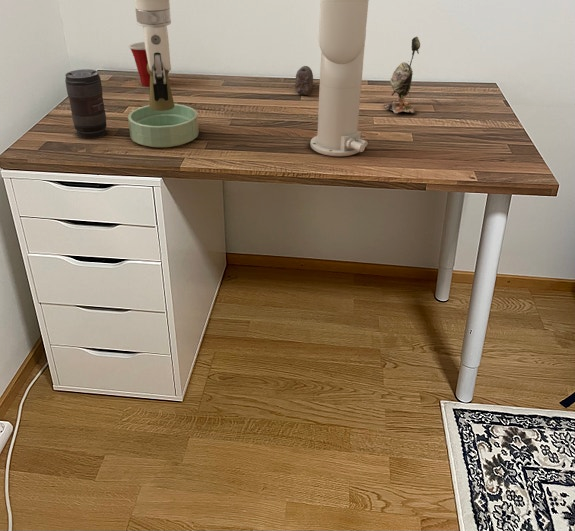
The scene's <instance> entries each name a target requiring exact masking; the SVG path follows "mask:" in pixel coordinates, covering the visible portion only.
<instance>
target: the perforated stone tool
mask: <svg viewBox="0 0 575 531" xmlns="http://www.w3.org/2000/svg"><path fill="white" fill-rule="evenodd" d="M313 74H314V73H313V71H312V69H311V67H310V66H308V65H303V66H301V67H300V68H298V70H297V71H296V74H295V83H294V88H295V91H296V92H297V94H299V95H306V96H307V95H309V94H310V93H311V91H312V89H313V84H314V75H313Z"/></svg>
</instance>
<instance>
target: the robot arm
mask: <svg viewBox="0 0 575 531" xmlns="http://www.w3.org/2000/svg"><path fill="white" fill-rule="evenodd" d="M369 1H370V0H320V3H319V5H320V6H319V25H318V46H319V49H320V70H319V88H318V90H319V91H318V110H317V111H318V112H317V134H316V135H315V136H313V137H312V138H311V140H310V148H311V149H312V150H313V151H314V152H316V153H318V154H321V155H325V156H329V157H349V156H353V155H357V154H358V153H363V152H364V151H365V148H366V147H367V146H368V143H369V142H368V140H366V139H362V138H361V134H362V131H361V130H359V117H360V108H361V106H360V105H361V104H360V103H361V94H362V82H363V72H364V71H363V70H364V60H365V59H364V58H365V47H366V36H367V21H368V12H369ZM134 8H135V9H134V10H135V18H136V24H137V25H138V26H140V27H142V31H143V39H144V40H143V42H145V48H146V54H147V60H148V64H149V69H150V71H152V70H153V78H154V84H153V89H154V99H155V101H158V100H159V99H160V98H163V99H164V100H165V101H167V100H168V90H167V83H166V79H165V69H166V70H168V71H169V72H170V71H172V64H171V53H170V42H169V32H168V26H170V25H171V24H172V17H171V4H170V0H134ZM160 59H161V60H160ZM162 64H163V65H162ZM162 67H163V70H161V68H162ZM164 67H165V68H164ZM154 68H156V70H154ZM155 73H156V74H157V75H155ZM162 73H163V74H162ZM163 82H164V83H163Z"/></svg>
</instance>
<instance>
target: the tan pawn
mask: <svg viewBox="0 0 575 531" xmlns="http://www.w3.org/2000/svg"><path fill="white" fill-rule="evenodd" d="M160 60H161V59H160ZM162 65H163V64H162ZM164 68H165V67H164ZM154 70H156V68H154ZM161 70H163V67H162V68H161ZM147 71H148V73H149V74H150V87H149V100H148V102H149V103H148V105H149V108H150V109H152V110H156V111H165V110H170V109H173V108H174V106H175V105H174V104H175V102H174V97H173V92H172V87H171V84H170V79H169V78H170V77H169V73H170V71H168V70H166V69H165V79H166V83H167V90H168V100H167V101H165V100H164V99H163V98H160V99H159V100H158V101H155V99H154V89H153V84H154V78H153V70H152V71H150V69H149V64H147ZM162 74H163V73H162ZM155 75H157V74H156V73H155ZM163 83H164V82H163Z"/></svg>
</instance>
